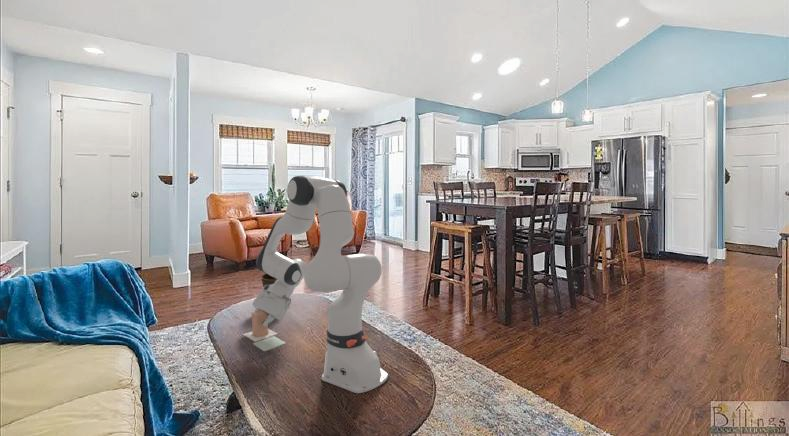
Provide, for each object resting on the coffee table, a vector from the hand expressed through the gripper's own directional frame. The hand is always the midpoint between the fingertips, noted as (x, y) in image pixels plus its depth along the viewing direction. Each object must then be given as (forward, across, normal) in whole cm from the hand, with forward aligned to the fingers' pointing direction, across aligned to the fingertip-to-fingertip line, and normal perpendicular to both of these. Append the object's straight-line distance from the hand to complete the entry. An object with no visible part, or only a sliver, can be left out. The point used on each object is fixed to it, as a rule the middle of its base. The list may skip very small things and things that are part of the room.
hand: (258, 322), depth 156 cm
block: (+3, 0, -4) cm, 5 cm away
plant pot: (-12, +24, -20) cm, 34 cm away
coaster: (+5, -11, -3) cm, 12 cm away
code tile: (+3, 0, -4) cm, 5 cm away
